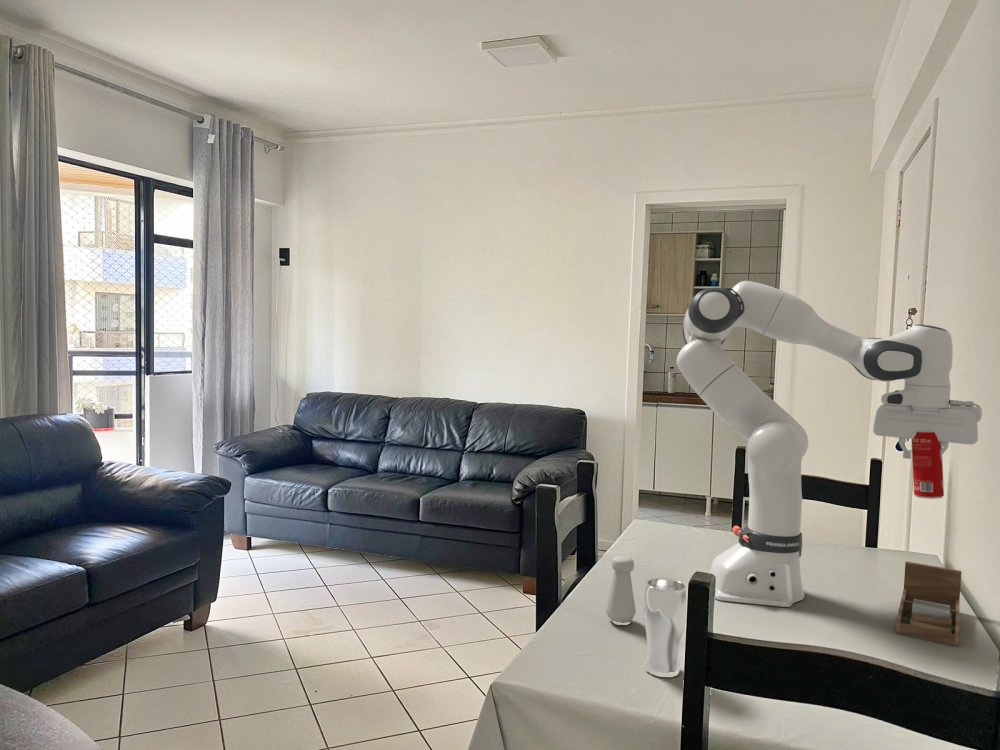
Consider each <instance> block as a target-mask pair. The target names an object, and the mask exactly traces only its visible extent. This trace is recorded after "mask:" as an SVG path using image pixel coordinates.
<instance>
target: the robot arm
mask: <svg viewBox="0 0 1000 750" xmlns="http://www.w3.org/2000/svg"><path fill="white" fill-rule="evenodd" d="M735 328H747V329H751V330H753V331H754V332H756V333H758V334H761V335H763V336H766V337H767V338H769V339H773V340H777V341H780V342H782V343H783V342H784V343H788V344H793V345H805V346H810V347H814V348H817V349H820V350H821V351H825V352H827V353H829V354H831V355H833V356H836V357H838V358H840V359H842V360H844V361H846V362H848V363H849V364H850V365H851V366H852V367H853V368H854V369H855V370H856V371H857V372H858V373H859V374H860V375H861V376H862V377H864V378H866V379H868V380H872V381H877V382H878V381H879V382H883V383H885V382H894V381H896V380H897V381H898V380H904V384H903V385H904V386H903V389H900V390H899V389H897V390H894V391H890V392H886V393H884V394H882V395H881V397H880V401H881V403H882V404H881V405H879V406H878V407H877V409H876V412H875V415H874V418H873V424H872V432H873V434H874V435H876V436H879V437H888V438H897V439H898V445H899V446H900V448H901V449H902V451H903V453H902V458H903V459H912V449H911V450H910V449H908V448H907V446H906V445H905V444H906V443H907V439H909V440H912V439H914V436H915V435H916V432H935V434H936V436H937V437H938V441H940V442H941V447H942V450H941V458H942V459H943V454H944V453H945V452H947V449H948V448H949V444H951V443H952V444H960V445H961V444H962V445H971V446H972V445H975V444H976V443H977V442H978V440H979V427H978V422H979V421H981V419H982V414H983V413H982V411H983V410H982V407H981V406H980V404H977V403H975V402H974V401H972V400H971V401H970V400H965V401H964V400H955V399H950V398H951V381H950V380H951V379H950V374H951V371H952V368H953V357H954V356H953V354H954V352H953V351H954V350H953V339H952V336H951V334H950V332H949V331H948V330H947V329H945V328H943V327H939V326H933V325H927V324H926V325H925V324H913V325H912V326H911V327H909V328H908V329H905V330H904V331H903V330H902V331H901V332H899V333H897V334H894V335H890V336H888V337H884V338H880V337H863V336H858V335H856V334H853V333H851V332H849V331H846V330H844V329H843V328H840V327H837V326H835V325H834V324H831V323H829V322H828V321H826V320H824V319H823V318H821V316H819V314H818V313H817V312H816V310H815V309H814V308H813V307H812V305H810V304H808V303H807V302H805V301H804V300H802V299H801V298H799V297H797V296H795V295H794V294H791V293H789V292H787V291H784V290H782V289H779V288H776V287H773V286H771V285H767V284H764V283H760V282H755V281H751V280H742V281H738V283H737V284H735V285H734V286H733V287H731V288H728V287H727V288H720V287H710V288H709V287H708V288H704V289H702V290H701V291H699V292H698V293H696V294H695V295H694V296H693V298H692V299H691V300H690V302H689V304H688V307H687V309H686V311H685V314H684V318H683V324H682V335H683V337H682V338H683V340H684V343H685V345H684V346H682V348H681V349H680V351H679V352H678V354H677V357H676V367H677V368H678V369H679V371H680V373H681V374H682V376H683V378H684V379H685V381H686V382H687V384H688V385H689V386H690V387H691V388H692V389H693V392H695V393H696V395H697V396H699V398H701V400H702V401H703V402H704V403H705V404H706V405H707V406H708V407H709V408H710V410H712V412H713V413H714V414H716V416H717V417H718V418H719V420H720V421H722V423H724V424H726V425H728V426H729V427H730V428H731V429H732V430H734V431H735V432H736V433H738V434H739V435H740V436H741V437H742V438H743V439H745V440H746V441H747V444H746V445H747V446H746V447H747V473H748V475H747V476H748V484H749V485H748V489H749V490H748V491H749V497H748V499H749V501H748V517H747V519H748V520H747V525H746V526H745V527H744V528H741V527H740V526H738V525H734V526H733V527H732V529H731V532H732V534H733V535H734V536H737V537H738V542H737V543H736V544H733V546H731V547H729V548H727V549H726V550H725V551H723V552H721V553H720V554H718V555H716V556H715V557H714V559H713V561H712V563H711V566H710V571H709V574H710V573H712V574H714V575H715V576H716V578H717V582H716V597H715V598H714V599H715V600H718V601H724V602H731V603H732V602H733V603H734V602H735V603H742V604H743V603H744V604H750V605H751V604H754V605H762V606H763V605H764V606H773V607H782V608H790V607H792V605H793V604H795V603H797V602H799V601H802V600H803V599H805V591H804V586H803V581H802V574H801V564H800V563H801V561H800V558H801V557H802V550H803V533H802V532H801V527H802V526H801V525H802V509H803V508H802V507H803V495H802V493H803V492H802V461H803V457H804V456H805V455H806V453H807V452H808V449H809V447H808V446H809V437H808V433H807V432H806V430H805V429H804V427H803V426H802V425H801V424H800V423H799V422H798V421H797V420H796V419H795V418H794V417H793V416H792V415H790V414H789V413H788V411H786V410H785V409H784V408H782V406H781V405H779V404H778V403H777V402H776V401H775V400H774V399H772V398H771V397H770V396H769V395H768V394H767V393H765V392H764V391H763V390H762V389H761V388H760V387H759V386H758V385H757V384H756V383H755V382H754V381H753V380H752V379H751V378H750V377H749V376H748V375H747V374H746V373H745V372H744V371H743V370H742V369H741V367H739V366H738V364H736V363H735V362H734V361H733V360H732V359H731V358H730V357H729V356H728V354H727V353H726V352H725V351H724V348H723V344H724V342H725V340H726V338H727V336H728V335H729V334H730V332H732V330H733V329H735Z"/></svg>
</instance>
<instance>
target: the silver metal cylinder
mask: <svg viewBox="0 0 1000 750" xmlns="http://www.w3.org/2000/svg"><path fill="white" fill-rule="evenodd" d="M909 622H910V625H914V626H919V627H924V628H928V629H933V630H938V631H942V632H947V633H952V628H953V627H952V626H953V625H952V614H951V613H950V606H949V605H944V604H939V603H934V602H929V601H924V600H918V599H913V605H912V614H911V617H910V621H909Z"/></svg>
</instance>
